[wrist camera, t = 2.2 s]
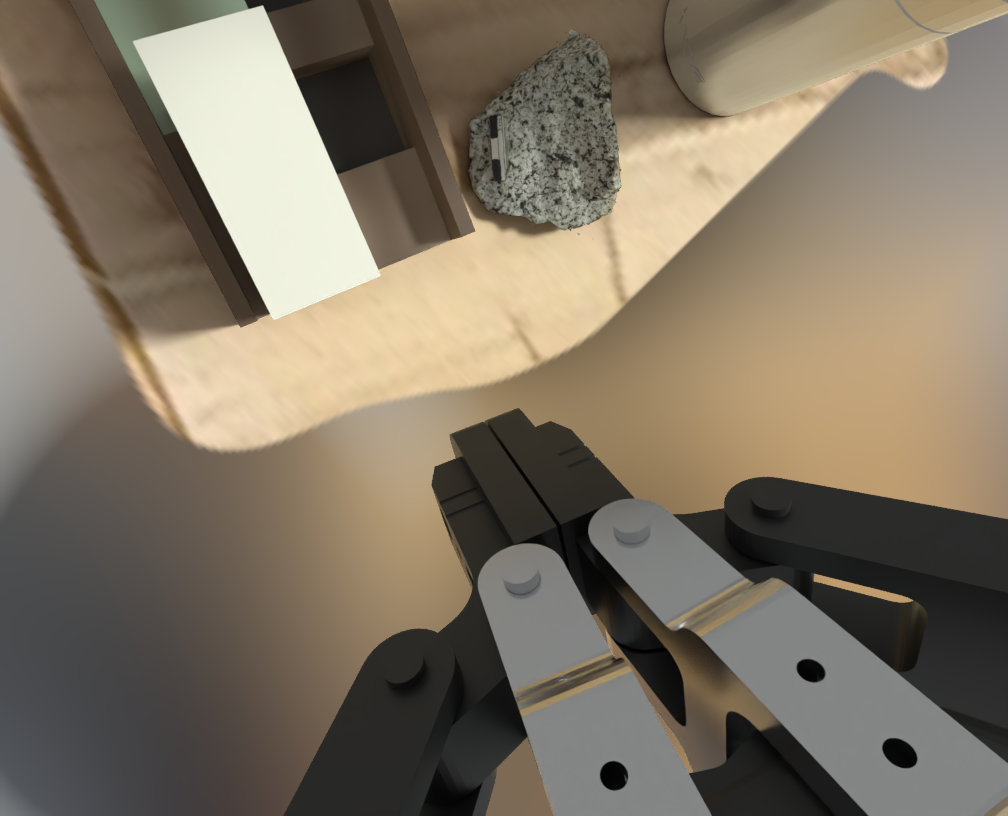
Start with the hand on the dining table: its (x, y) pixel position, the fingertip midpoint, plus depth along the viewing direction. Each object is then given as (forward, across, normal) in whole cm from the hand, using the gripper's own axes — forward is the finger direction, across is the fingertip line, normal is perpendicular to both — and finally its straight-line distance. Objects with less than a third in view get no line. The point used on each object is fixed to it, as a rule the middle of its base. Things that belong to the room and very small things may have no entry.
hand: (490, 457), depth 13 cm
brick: (+23, +3, -2) cm, 23 cm away
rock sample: (+26, -12, 0) cm, 29 cm away
